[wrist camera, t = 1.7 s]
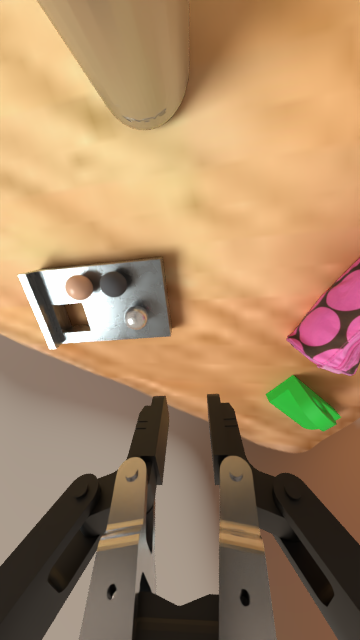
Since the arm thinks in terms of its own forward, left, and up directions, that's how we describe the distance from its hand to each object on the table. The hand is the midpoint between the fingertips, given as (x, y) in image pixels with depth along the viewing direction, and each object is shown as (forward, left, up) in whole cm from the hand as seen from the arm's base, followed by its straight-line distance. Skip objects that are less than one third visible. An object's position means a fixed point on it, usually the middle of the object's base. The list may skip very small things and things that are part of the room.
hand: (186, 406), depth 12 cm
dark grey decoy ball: (-5, -9, -15) cm, 18 cm away
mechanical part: (+21, +19, -19) cm, 34 cm away
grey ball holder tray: (-1, -12, -19) cm, 23 cm away
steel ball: (0, -7, -15) cm, 17 cm away
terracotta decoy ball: (-5, -14, -15) cm, 21 cm away
